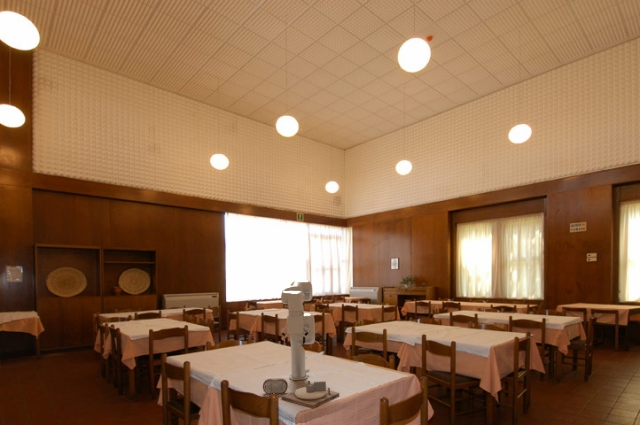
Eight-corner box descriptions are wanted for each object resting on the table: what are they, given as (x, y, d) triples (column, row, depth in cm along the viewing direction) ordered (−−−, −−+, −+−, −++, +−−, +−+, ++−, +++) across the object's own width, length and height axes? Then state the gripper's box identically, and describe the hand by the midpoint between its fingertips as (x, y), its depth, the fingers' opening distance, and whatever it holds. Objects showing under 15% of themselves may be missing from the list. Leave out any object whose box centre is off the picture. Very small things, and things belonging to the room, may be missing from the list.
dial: (295, 400, 211) (295, 388, 212) (294, 390, 229) (294, 378, 230) (327, 398, 213) (327, 386, 214) (323, 388, 231) (323, 377, 232)
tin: (287, 392, 231) (287, 377, 232) (287, 394, 228) (287, 379, 229) (263, 393, 231) (263, 378, 232) (262, 394, 227) (262, 380, 229)
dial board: (308, 388, 238) (308, 378, 239) (339, 395, 223) (339, 385, 224) (281, 399, 219) (281, 388, 220) (313, 408, 204) (312, 396, 205)
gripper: (309, 312, 226) (310, 342, 224) (280, 313, 226) (280, 343, 223) (309, 314, 219) (310, 345, 216) (279, 315, 218) (279, 346, 216)
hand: (295, 344), depth 220 cm, fingers open, 9 cm apart
